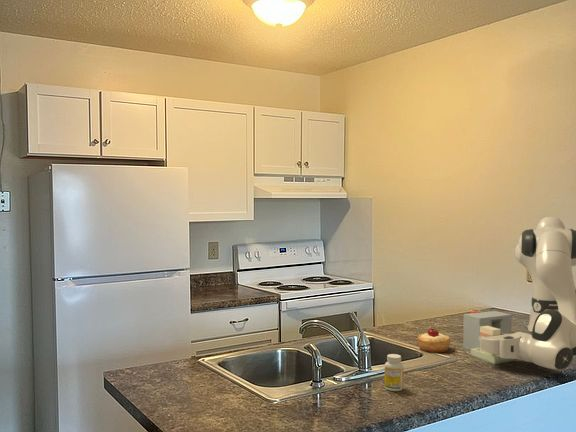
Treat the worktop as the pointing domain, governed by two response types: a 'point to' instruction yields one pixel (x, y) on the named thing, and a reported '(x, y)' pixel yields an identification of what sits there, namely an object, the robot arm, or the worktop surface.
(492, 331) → the pink striped block
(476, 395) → the worktop surface
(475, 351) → the tray
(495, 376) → the worktop surface
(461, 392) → the worktop surface
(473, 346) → the dispenser
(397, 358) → the supplement bottle
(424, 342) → the pastry
